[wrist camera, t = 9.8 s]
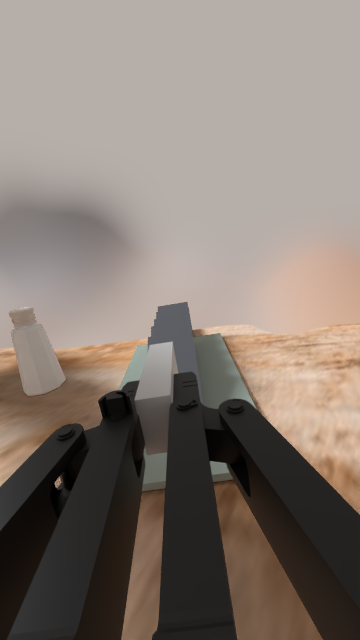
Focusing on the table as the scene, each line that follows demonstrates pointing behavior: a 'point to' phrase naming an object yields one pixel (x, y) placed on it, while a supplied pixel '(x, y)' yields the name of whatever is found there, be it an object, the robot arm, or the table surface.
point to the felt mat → (216, 388)
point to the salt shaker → (34, 354)
